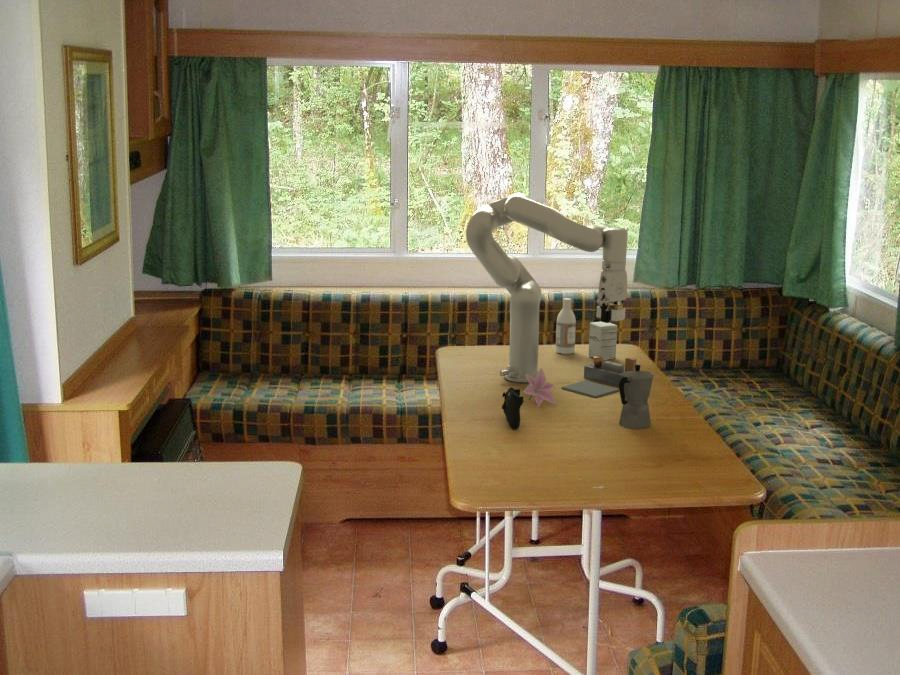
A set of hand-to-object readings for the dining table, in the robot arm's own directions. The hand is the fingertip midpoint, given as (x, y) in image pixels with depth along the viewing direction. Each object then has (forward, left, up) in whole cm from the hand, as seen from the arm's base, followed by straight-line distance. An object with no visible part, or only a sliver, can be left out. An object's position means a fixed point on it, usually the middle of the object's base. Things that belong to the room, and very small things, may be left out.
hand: (610, 320), depth 366 cm
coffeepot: (-31, -34, -21) cm, 51 cm away
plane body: (+3, 0, -21) cm, 21 cm away
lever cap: (0, 0, +1) cm, 1 cm away
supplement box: (+25, +22, -21) cm, 40 cm away
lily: (-35, 0, -21) cm, 41 cm away
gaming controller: (-56, -9, -21) cm, 61 cm away
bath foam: (+21, +36, -21) cm, 47 cm away
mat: (-11, -2, -21) cm, 24 cm away
